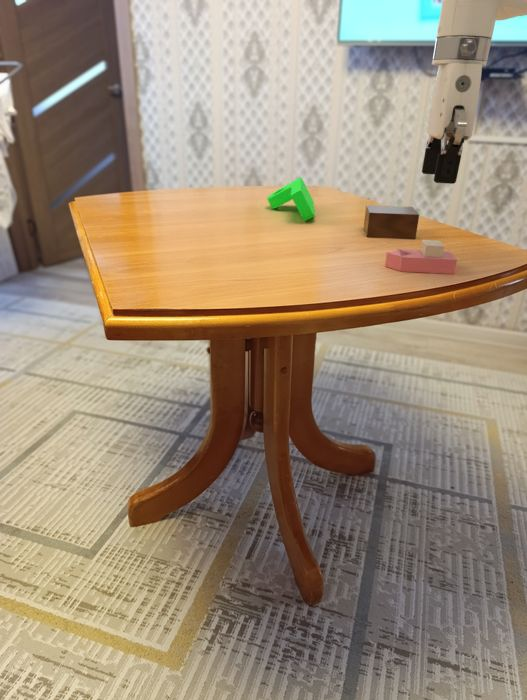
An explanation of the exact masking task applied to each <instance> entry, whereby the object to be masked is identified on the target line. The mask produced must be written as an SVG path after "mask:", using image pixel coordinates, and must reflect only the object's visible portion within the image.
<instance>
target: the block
mask: <svg viewBox="0 0 527 700" xmlns="http://www.w3.org/2000/svg"><path fill="white" fill-rule="evenodd" d="M419 220H420V214H419V213H418V211H417V210H416V209H415V208H414V206H401V205H378V204H377V205H376V204H375V205H374V204H365V212H364V220H363V230H364V233H365V236H366V237H367V238H383V239H405V240H416V239H417V231H418V225H419Z"/></svg>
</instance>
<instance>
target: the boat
mask: <svg viewBox="0 0 527 700" xmlns="http://www.w3.org/2000/svg"><path fill="white" fill-rule="evenodd" d="M457 261H458V259H457V258H456V257H455V256H454V254H453V253H452V252H451V251H448V250H445V245H444V244H443V242H442V241H441V240H438V239H437V240H436V239H422V240H421V244H420V249H408V248H407V249H406V248H397V249H394V250H391V251H387V252H386V254H385V262H384V267H386V268H388V269H389V268H390V269H392V270H396V271H399V272H401V273H404V272H406V273H423V274H424V273H425V274H443V275H444V274H445V275H448V274H449V275H455V271H456V266H457Z"/></svg>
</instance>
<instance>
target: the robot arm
mask: <svg viewBox="0 0 527 700" xmlns="http://www.w3.org/2000/svg"><path fill="white" fill-rule="evenodd" d="M524 16H527V0H442V1H441V7H440V13H439V20H438V25H437V32H436V39H435V43H434V49H433V55H432V61H431V65H432V66H437V67H438V68H437V72H436V76H435V77H436V78H435V80H434V87H433V92H432V96H431V97H432V98H431V103H430V108H429V114H428V120H427V121H428V122H427V128H426V129H427V134H428V138H427V141H426V147H425V151H424V155H423V160H422V161H423V162H422V167H421V173H422V174H423V175H434V176H433V182H434V183H436V184H449V185H450V184H452V185H453V184H454V185H455V183H457V179H458V174H459V169H460V165H461V160H462V154H463V149H464V146H463V144H464V143H465V141H469V140H470V139H471V138H472V136H473V132H474V126H475V121H476V114H477V108H478V102H479V97H480V96H479V95H480V92H481V91H480V90H481V81H482V74H483V73H482V72H483V67H487V63H488V58H489V54H490V49H491V44H492V39H493V35H494V30H495V25H496V21H505V20H509V19H513V18H517V17H524Z"/></svg>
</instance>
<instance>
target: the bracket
mask: <svg viewBox="0 0 527 700" xmlns="http://www.w3.org/2000/svg"><path fill="white" fill-rule="evenodd" d="M266 200H267V201H268V204H269V206H270V207H271V209H272V210H273V209H277V208H279V207H281V206H283V205H285V204H287V203H288V202H290V201H293V203H294V205H295V207H296V209H297V210H298V213H299V214H300V216H301V218H302V219H303V221H304V222H306V221H308V220H310V219H312V218H314V217H316V211H315V201H314V199H313V197H312V195H311V194H310V192H309V189H308V188H307V185H306V183H305V181H304V180H303V177H302V176H300V177H298V178H297V179H295V180H293V181H291V182H289V183H287V184H286V185H284V186H282V187H280V188H279V189H277V190H275V191H274V192H272V193H271V194H270V195H268V196H267V197H266Z"/></svg>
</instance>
